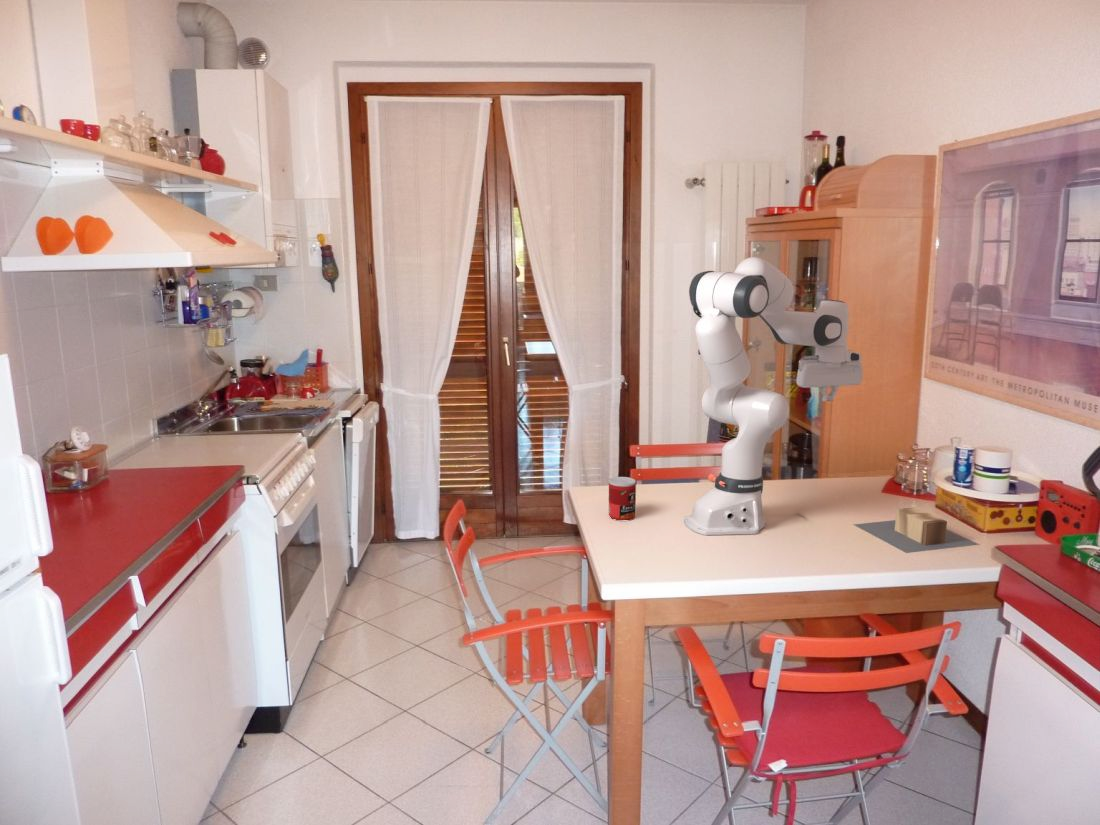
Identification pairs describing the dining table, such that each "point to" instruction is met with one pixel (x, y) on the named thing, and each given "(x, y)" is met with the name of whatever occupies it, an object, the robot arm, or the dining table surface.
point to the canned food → (622, 498)
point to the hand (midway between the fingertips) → (827, 400)
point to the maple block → (920, 526)
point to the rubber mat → (906, 544)
